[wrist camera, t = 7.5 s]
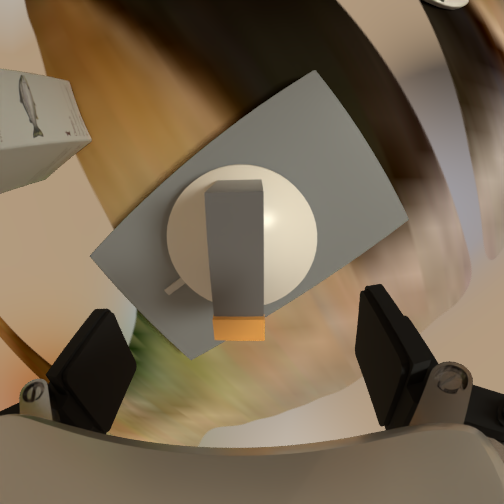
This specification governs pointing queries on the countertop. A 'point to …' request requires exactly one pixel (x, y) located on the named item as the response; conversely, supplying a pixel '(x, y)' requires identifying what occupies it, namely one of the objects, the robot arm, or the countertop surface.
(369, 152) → the dial base
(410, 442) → the robot arm
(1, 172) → the supplement box
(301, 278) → the dial
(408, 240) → the countertop surface
